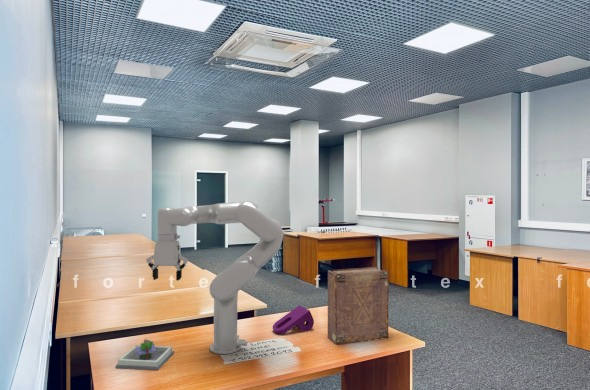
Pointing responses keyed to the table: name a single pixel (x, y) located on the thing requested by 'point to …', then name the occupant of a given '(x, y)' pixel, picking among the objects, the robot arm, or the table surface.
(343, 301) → the book
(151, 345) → the geometric puzzle
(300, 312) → the mounting bracket
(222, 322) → the robot arm
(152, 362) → the shallow square tray
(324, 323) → the table surface
